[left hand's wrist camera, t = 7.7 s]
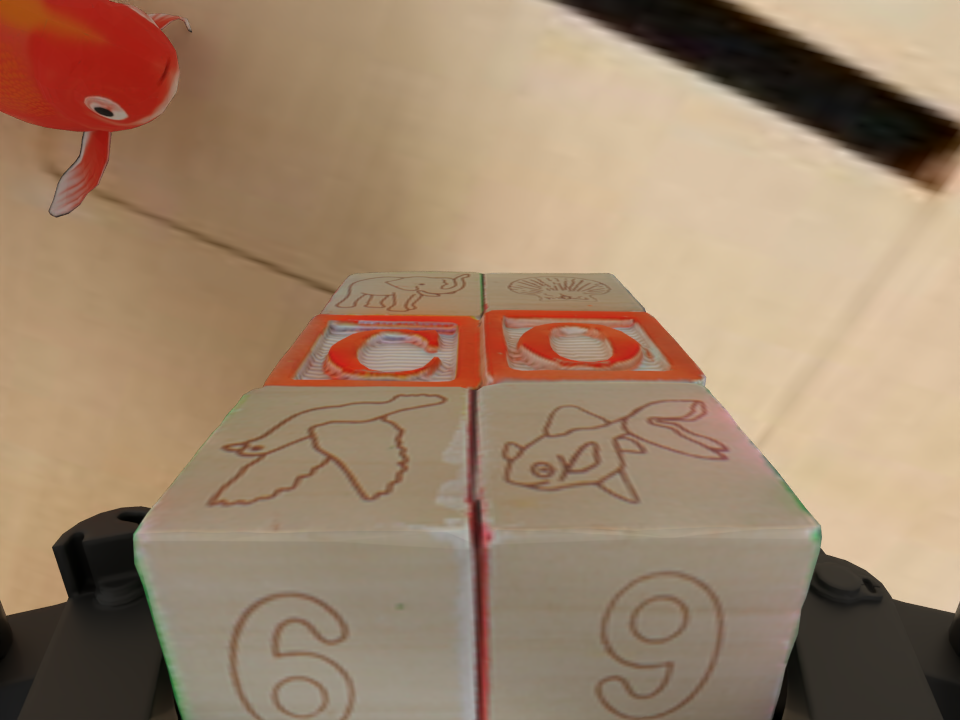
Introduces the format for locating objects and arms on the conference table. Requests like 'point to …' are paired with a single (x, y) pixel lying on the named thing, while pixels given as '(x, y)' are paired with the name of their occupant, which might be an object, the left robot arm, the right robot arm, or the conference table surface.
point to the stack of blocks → (478, 521)
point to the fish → (85, 76)
